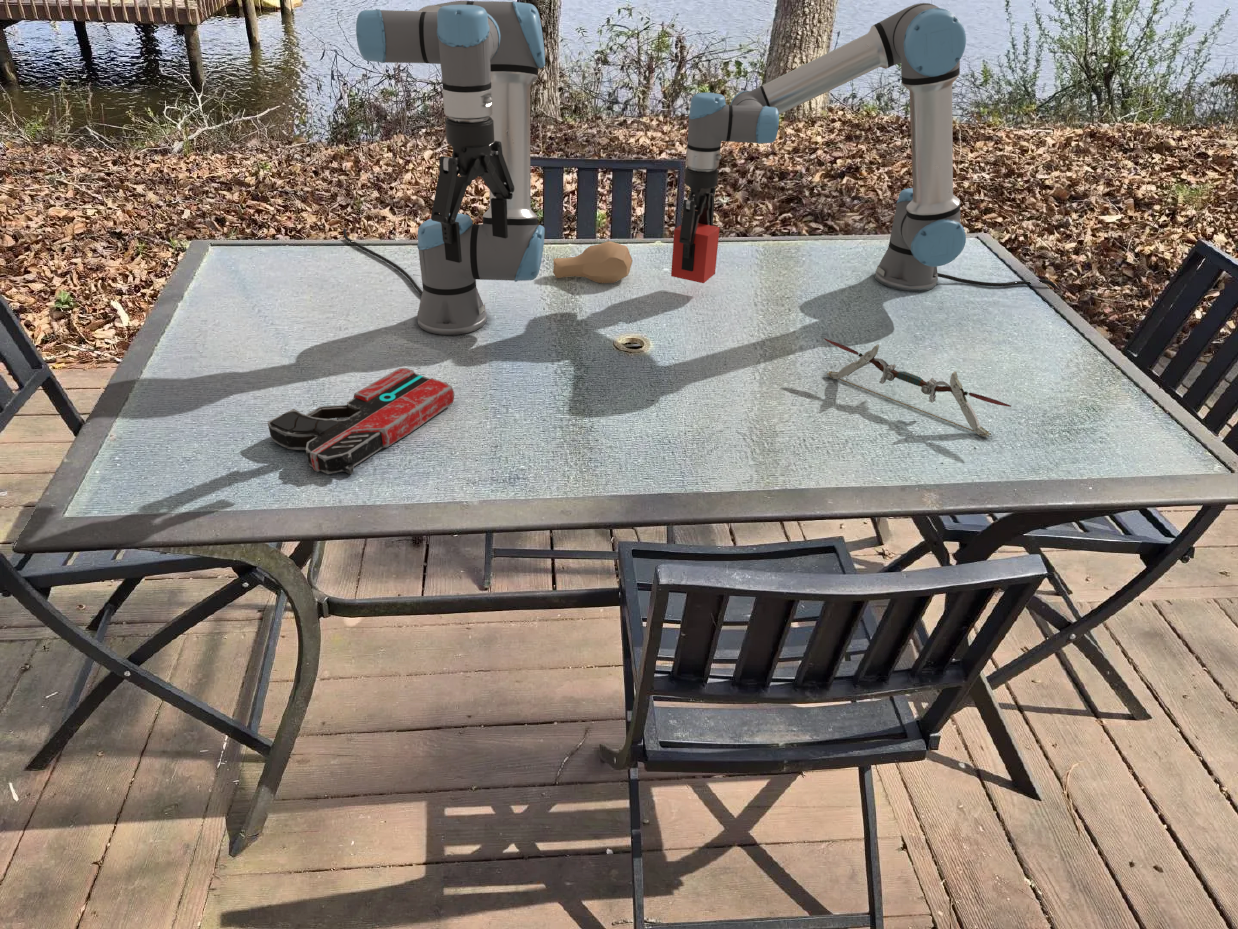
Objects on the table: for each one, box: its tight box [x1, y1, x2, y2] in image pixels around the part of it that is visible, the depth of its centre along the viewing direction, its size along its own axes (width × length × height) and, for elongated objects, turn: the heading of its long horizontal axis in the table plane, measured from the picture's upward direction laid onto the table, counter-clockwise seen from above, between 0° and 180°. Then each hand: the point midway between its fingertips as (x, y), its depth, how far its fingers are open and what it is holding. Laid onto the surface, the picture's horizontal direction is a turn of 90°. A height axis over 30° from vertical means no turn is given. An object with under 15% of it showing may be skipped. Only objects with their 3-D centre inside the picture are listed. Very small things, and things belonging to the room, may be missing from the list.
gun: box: [266, 367, 456, 475], centre depth 158 cm, size 4×31×19 cm
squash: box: [552, 240, 633, 284], centre depth 218 cm, size 11×20×9 cm, turn 90°
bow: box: [822, 337, 1012, 438], centre depth 167 cm, size 39×2×10 cm, turn 47°
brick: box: [670, 223, 721, 284], centre depth 209 cm, size 7×8×12 cm
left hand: (477, 248), depth 149 cm, fingers open, 13 cm apart
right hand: (694, 264), depth 210 cm, fingers closed on brick, 7 cm apart
